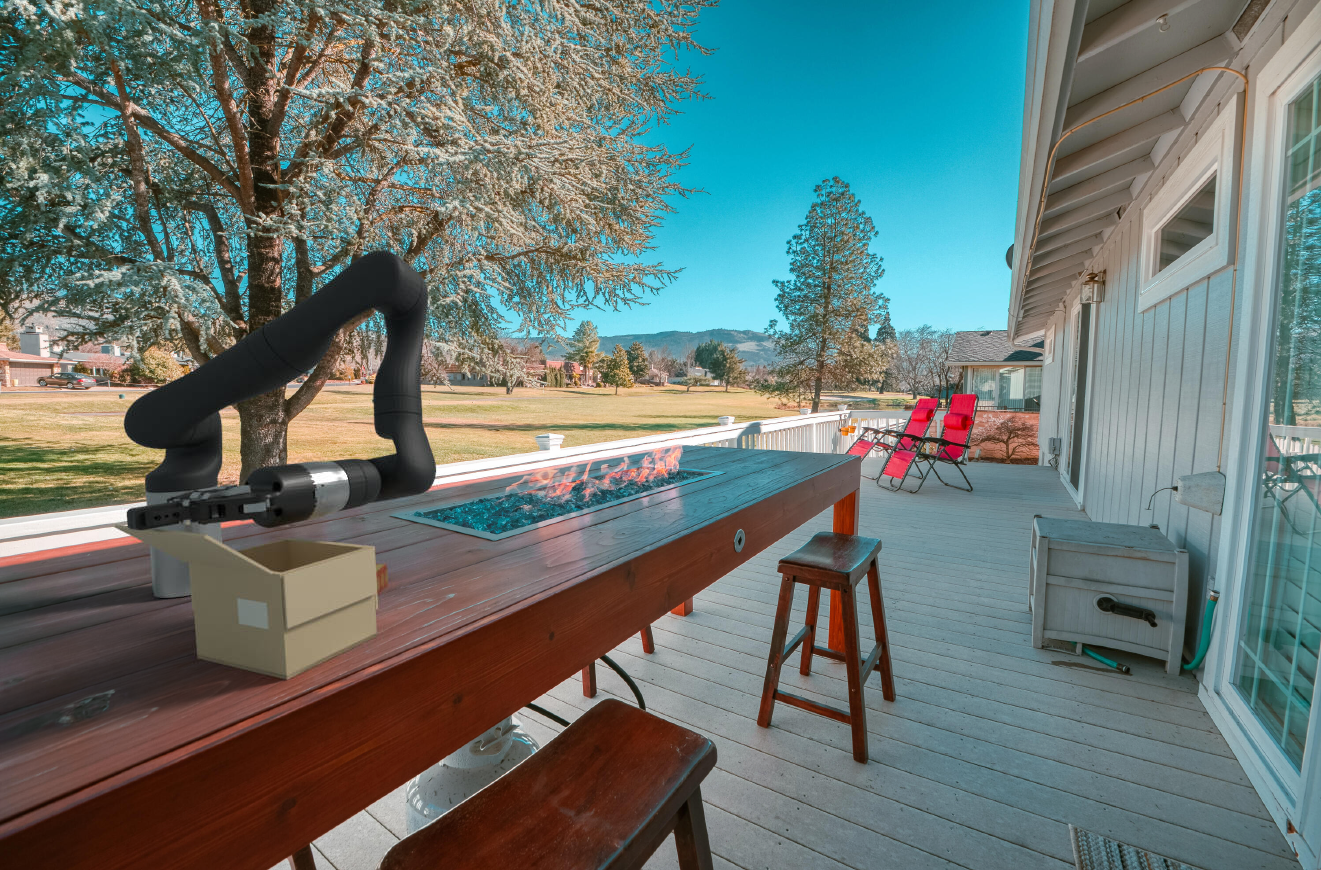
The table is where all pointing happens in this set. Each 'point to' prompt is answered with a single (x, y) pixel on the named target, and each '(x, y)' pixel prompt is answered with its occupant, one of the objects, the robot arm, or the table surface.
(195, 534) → the near flap
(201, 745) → the table surface
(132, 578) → the table surface
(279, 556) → the kraft box
